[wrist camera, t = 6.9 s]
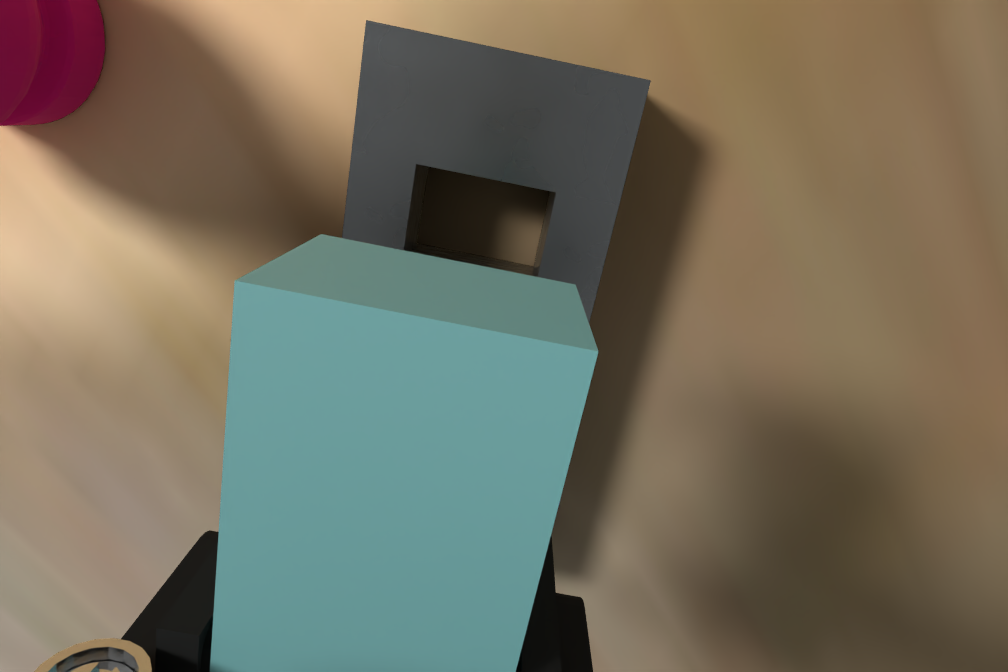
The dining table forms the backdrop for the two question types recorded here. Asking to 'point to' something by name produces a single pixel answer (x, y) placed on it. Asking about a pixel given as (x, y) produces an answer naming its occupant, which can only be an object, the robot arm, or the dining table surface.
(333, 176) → the dining table surface
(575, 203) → the rail
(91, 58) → the pepper mill
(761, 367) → the dining table surface
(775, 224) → the dining table surface
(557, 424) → the clip
